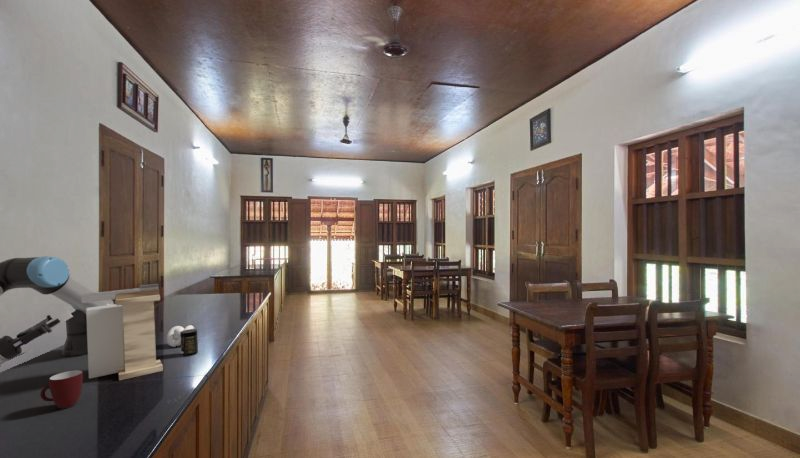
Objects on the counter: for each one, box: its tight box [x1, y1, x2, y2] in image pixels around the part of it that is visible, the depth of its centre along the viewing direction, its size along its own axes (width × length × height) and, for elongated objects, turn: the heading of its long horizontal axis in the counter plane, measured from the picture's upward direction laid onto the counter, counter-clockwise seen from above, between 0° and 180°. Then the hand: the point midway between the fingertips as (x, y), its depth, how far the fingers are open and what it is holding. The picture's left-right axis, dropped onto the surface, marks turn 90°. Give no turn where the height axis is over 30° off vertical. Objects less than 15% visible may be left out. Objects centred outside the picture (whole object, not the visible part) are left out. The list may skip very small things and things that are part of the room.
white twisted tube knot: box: [166, 324, 195, 348], centre depth 186 cm, size 11×12×9 cm
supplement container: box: [180, 328, 199, 357], centre depth 171 cm, size 7×7×10 cm
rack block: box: [86, 304, 124, 379], centre depth 152 cm, size 8×11×26 cm
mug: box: [39, 369, 84, 410], centre depth 121 cm, size 11×8×10 cm
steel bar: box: [81, 283, 160, 303], centre depth 147 cm, size 3×24×4 cm, turn 128°
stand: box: [114, 288, 164, 381], centre depth 151 cm, size 10×14×32 cm
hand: (71, 310), depth 138 cm, fingers open, 13 cm apart
